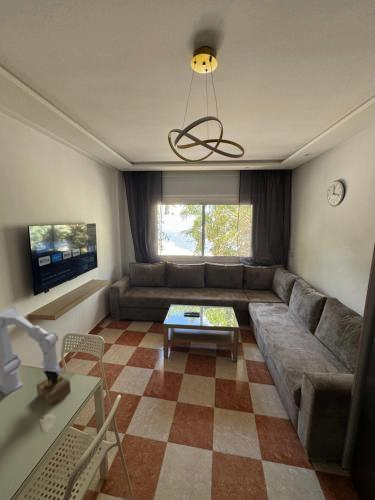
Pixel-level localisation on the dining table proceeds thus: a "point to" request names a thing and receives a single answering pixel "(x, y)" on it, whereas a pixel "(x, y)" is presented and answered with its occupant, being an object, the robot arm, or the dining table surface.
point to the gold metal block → (49, 383)
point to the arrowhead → (47, 422)
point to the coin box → (53, 390)
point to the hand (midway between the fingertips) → (53, 381)
